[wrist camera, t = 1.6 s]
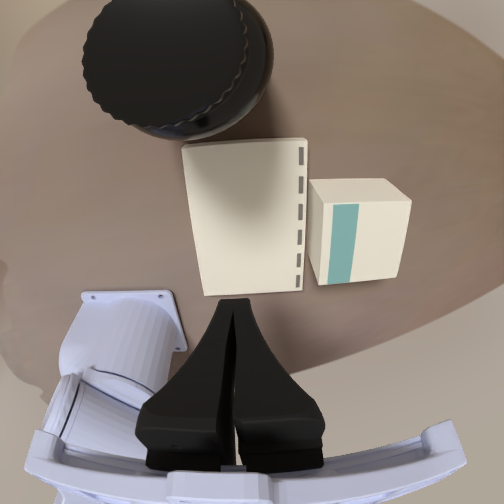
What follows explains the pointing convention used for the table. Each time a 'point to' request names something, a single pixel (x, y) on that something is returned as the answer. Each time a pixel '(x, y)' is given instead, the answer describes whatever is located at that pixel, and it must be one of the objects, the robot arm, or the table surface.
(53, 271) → the table surface
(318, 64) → the table surface
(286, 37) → the table surface
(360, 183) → the teal striped cube
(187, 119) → the supplement bottle
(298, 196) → the ticket
